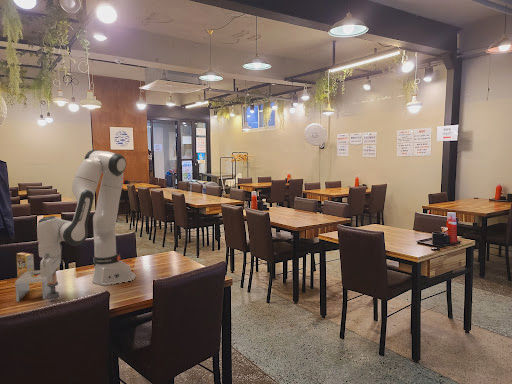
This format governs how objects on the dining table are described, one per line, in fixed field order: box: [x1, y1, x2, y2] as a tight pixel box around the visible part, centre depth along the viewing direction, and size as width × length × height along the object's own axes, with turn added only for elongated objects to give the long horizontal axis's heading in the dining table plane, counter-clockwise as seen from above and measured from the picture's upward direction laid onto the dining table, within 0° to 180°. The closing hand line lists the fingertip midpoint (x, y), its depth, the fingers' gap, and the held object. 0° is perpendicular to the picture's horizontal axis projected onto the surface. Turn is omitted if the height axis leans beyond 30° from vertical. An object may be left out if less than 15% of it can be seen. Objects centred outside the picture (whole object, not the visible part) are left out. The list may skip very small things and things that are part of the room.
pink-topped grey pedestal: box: [47, 273, 60, 300], centre depth 167 cm, size 4×4×11 cm
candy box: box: [16, 251, 35, 279], centre depth 193 cm, size 9×4×15 cm, turn 66°
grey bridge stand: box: [14, 269, 51, 303], centre depth 174 cm, size 12×15×10 cm
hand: (52, 279), depth 167 cm, fingers closed on pink-topped grey pedestal, 3 cm apart
